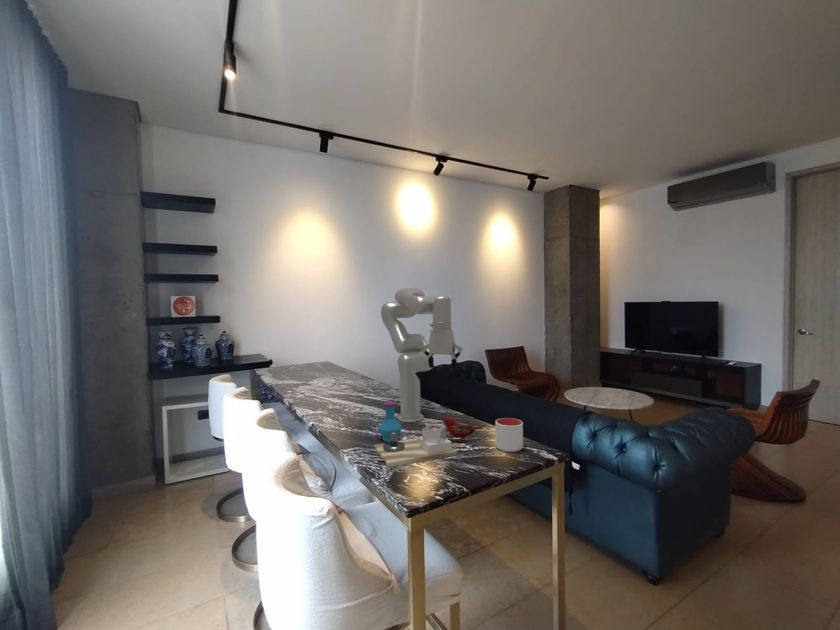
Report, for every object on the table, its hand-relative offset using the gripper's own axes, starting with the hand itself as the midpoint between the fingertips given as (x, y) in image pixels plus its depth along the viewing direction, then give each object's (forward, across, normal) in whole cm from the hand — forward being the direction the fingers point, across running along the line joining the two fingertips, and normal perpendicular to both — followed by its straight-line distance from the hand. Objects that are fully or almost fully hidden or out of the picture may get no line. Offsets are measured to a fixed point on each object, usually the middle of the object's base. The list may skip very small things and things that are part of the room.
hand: (442, 367), depth 156 cm
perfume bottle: (+28, -19, -11) cm, 36 cm away
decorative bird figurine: (+28, +10, -3) cm, 30 cm away
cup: (+29, +28, -4) cm, 40 cm away
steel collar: (+24, +3, -17) cm, 29 cm away
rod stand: (+27, -11, -23) cm, 37 cm away
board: (+28, -4, -20) cm, 35 cm away
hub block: (+27, +3, -17) cm, 32 cm away
